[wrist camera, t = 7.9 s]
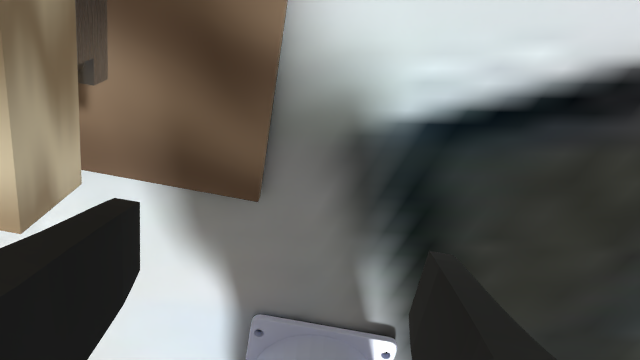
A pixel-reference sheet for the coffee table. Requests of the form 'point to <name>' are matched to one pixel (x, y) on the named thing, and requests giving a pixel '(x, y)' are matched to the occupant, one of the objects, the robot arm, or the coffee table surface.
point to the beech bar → (37, 109)
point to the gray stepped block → (91, 41)
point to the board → (185, 94)
